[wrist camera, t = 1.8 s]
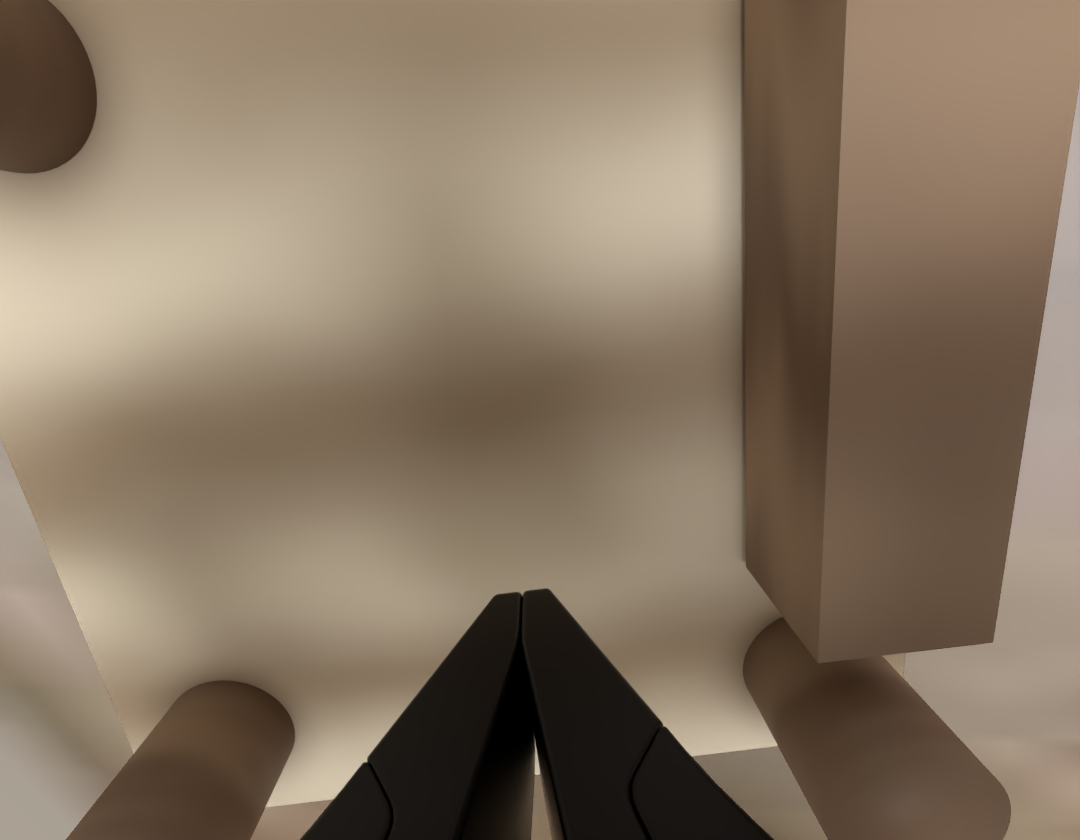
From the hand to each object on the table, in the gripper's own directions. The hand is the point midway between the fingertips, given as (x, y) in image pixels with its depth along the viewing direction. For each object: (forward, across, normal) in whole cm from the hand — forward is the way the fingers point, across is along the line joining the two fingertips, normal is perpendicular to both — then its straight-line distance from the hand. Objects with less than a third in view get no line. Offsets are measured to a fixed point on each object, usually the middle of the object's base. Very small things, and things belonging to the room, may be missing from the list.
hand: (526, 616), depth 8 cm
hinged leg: (+3, -6, -4) cm, 8 cm away
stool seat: (+7, +1, -2) cm, 7 cm away
